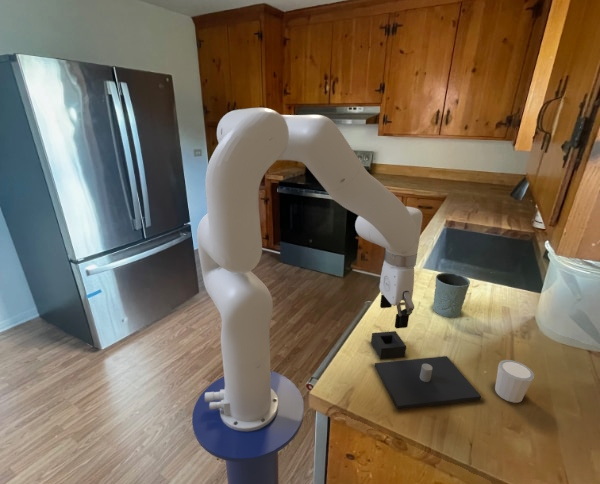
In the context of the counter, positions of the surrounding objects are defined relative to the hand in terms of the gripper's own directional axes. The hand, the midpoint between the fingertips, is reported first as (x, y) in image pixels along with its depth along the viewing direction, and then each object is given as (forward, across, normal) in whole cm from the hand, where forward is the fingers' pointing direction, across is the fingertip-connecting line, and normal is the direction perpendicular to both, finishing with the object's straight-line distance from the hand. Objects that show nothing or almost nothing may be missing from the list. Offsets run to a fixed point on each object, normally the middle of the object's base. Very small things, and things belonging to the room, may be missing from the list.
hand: (392, 316), depth 87 cm
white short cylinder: (+11, +19, +21) cm, 31 cm away
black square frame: (+11, 0, -1) cm, 11 cm away
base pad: (+10, +13, +3) cm, 17 cm away
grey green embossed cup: (+11, -17, +27) cm, 34 cm away
